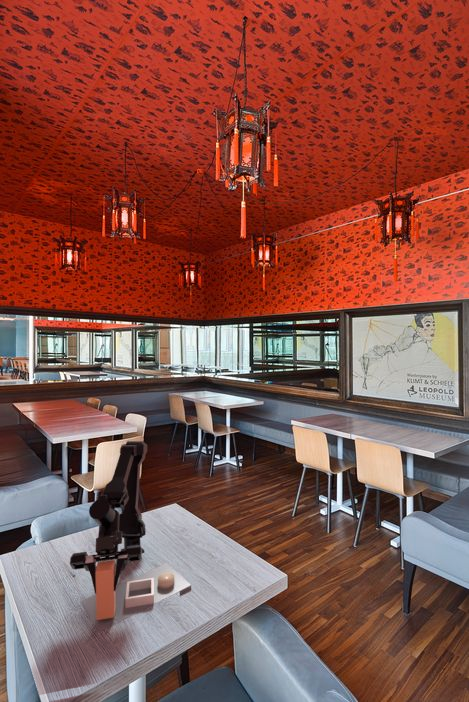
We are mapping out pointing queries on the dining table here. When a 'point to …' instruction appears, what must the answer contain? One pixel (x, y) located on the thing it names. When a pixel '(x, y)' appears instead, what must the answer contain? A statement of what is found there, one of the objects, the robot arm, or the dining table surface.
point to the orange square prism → (105, 589)
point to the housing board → (139, 594)
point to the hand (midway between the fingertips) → (105, 592)
